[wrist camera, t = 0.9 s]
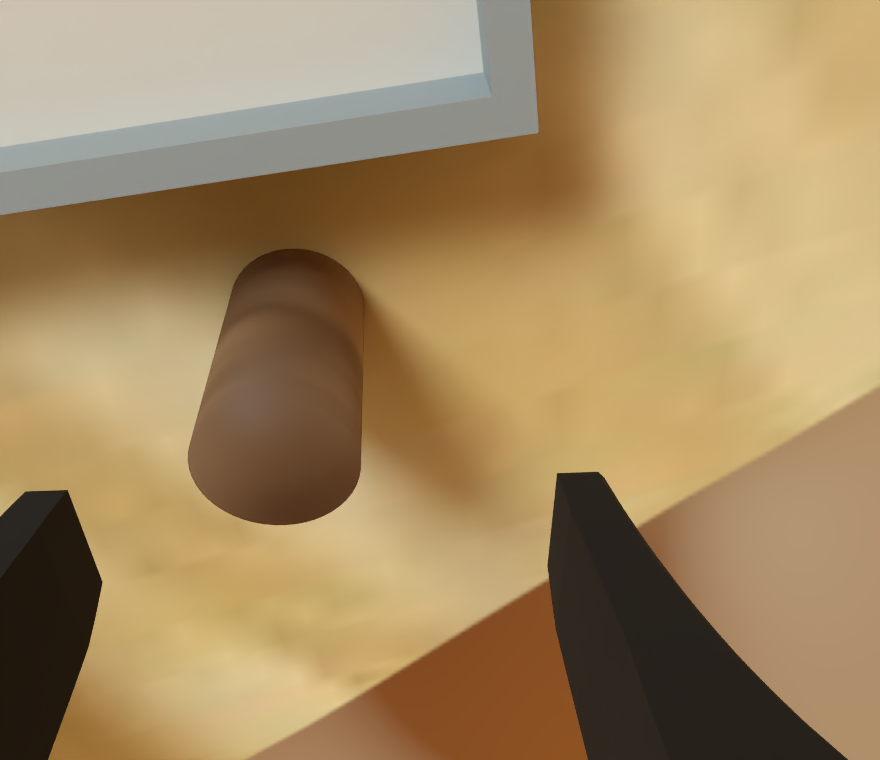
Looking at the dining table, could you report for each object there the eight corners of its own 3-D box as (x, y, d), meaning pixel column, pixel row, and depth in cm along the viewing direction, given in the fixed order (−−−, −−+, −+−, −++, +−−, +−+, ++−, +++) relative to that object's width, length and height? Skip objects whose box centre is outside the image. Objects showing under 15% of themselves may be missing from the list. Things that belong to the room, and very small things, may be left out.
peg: (250, 370, 23) (216, 534, 18) (214, 259, 21) (164, 411, 16) (375, 352, 23) (374, 513, 18) (350, 239, 21) (342, 385, 16)
